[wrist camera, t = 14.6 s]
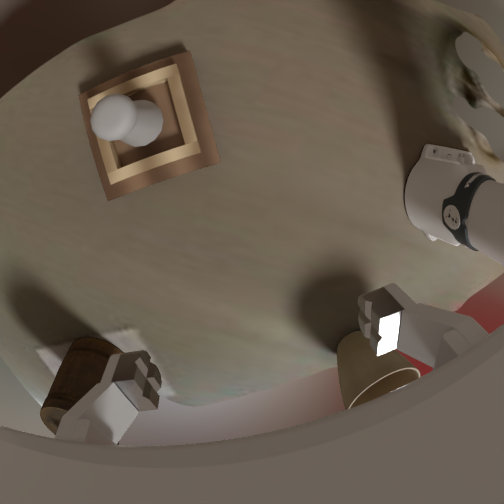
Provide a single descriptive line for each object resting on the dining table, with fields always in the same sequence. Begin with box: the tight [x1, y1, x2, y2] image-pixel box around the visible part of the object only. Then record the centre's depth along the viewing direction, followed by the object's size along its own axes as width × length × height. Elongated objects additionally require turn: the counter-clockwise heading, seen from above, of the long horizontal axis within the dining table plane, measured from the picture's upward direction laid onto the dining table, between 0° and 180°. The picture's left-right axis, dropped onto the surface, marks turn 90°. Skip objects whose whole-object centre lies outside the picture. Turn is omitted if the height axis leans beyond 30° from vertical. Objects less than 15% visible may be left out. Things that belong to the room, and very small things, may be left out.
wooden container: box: [40, 337, 123, 445], centre depth 37 cm, size 15×15×22 cm
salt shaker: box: [90, 94, 163, 147], centre depth 24 cm, size 6×6×13 cm
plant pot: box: [337, 331, 420, 410], centre depth 46 cm, size 15×15×16 cm
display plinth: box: [79, 51, 221, 201], centre depth 30 cm, size 16×16×5 cm
